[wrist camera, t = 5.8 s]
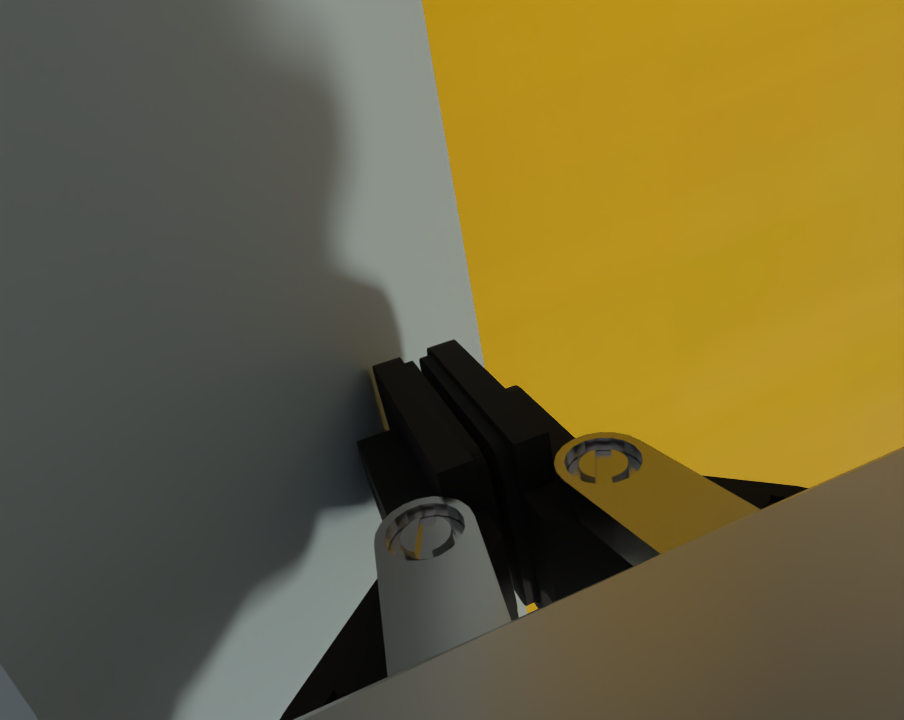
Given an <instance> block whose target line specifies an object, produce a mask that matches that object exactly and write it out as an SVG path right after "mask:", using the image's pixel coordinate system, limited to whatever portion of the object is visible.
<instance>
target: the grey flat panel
mask: <svg viewBox="0 0 904 720" xmlns="http://www.w3.org/2000/svg"><path fill="white" fill-rule="evenodd" d="M453 339H454V340H456V341H457V342H458V343H459V344H460V345H461V346H462V347H463V348H464V349H465V350H466V351H467V352H468V353H469V354H470V355H471V356H472V357H473V358H474V359H475V360H476V361H477V362H478V363H479V364H481V365H482V366H483V367H484V368H485V366H484V361H483V355H482V349H481V343H480V337H479V332H478V326H477V320H476V314H475V308H474V302H473V297H472V291H471V285H470V279H469V273H468V268H467V262H466V256H465V250H464V244H463V238H462V233H461V227H460V221H459V215H458V209H457V204H456V198H455V192H454V186H453V180H452V175H451V169H450V163H449V157H448V151H447V145H446V140H445V134H444V128H443V122H442V116H441V111H440V105H439V99H438V93H437V87H436V82H435V76H434V70H433V64H432V58H431V52H430V47H429V41H428V35H427V29H426V23H425V18H424V12H423V6H422V0H0V720H280V718H281V716H282V715H283V713H284V712H285V710H286V709H287V707H288V706H289V704H290V703H291V701H292V700H293V699H294V697H295V696H296V694H297V693H298V691H299V690H300V689H301V687H302V686H303V684H304V683H305V681H306V680H307V678H308V677H309V676H310V674H311V673H312V671H313V670H314V668H315V667H316V666H317V664H318V663H319V661H320V660H321V658H322V657H323V655H324V654H325V653H326V651H327V650H328V648H329V647H330V645H331V644H332V642H333V641H334V640H335V638H336V637H337V635H338V634H339V632H340V631H341V630H342V628H343V627H344V625H345V624H346V622H347V621H348V619H349V618H350V617H351V615H352V614H353V612H354V611H355V609H356V608H357V607H358V605H359V604H360V602H361V601H362V599H363V598H364V596H365V595H366V594H367V592H368V591H369V589H370V588H371V586H372V585H373V584H374V582H375V581H376V579H377V570H376V560H375V551H374V539H375V533H376V531H377V529H378V527H379V526H380V524H381V522H382V519H381V516H380V514H379V511H378V508H377V505H376V502H375V499H374V497H373V494H372V491H371V488H370V485H369V481H368V478H367V475H366V472H365V469H364V466H363V462H362V459H361V456H360V453H359V450H358V446H357V442H356V441H359V440H362V439H365V438H368V437H370V436H373V435H376V434H379V433H382V432H385V431H387V430H389V426H388V423H387V419H386V416H385V412H384V409H383V405H382V402H381V398H380V395H379V391H378V388H377V384H376V381H375V377H374V373H373V368H372V366H374V365H377V364H380V363H383V362H386V361H389V360H392V359H395V358H398V357H400V358H401V359H402V360H403V362H404V363H407V362H410V361H413V362H414V363H415V364H416V365H417V367H418V368H419V369H420V371H421V368H420V363H419V358H422V357H425V356H427V348H429V347H432V346H435V345H438V344H441V343H444V342H447V341H450V340H453ZM514 592H515V590H514ZM515 596H516V601H517V607H518V609H517V611H518V615H519V617H522V616H524V615H526V614H527V611H526V606H525V605H524V604H523V603H522V602H521V600H520V598H519V597H518V595H517V593H516V592H515Z"/></svg>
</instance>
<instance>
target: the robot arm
mask: <svg viewBox="0 0 904 720" xmlns="http://www.w3.org/2000/svg"><path fill="white" fill-rule="evenodd" d="M419 363H420V368H421V371H420V369H419V368H418V367H417V365H416V364H415V363H414V362H413V361H410V362H407V363H404V362H403V360H402V359H401V358H400V357H398V358H395V359H392V360H389V361H386V362H383V363H380V364H377V365H374V366H372V368H373V373H374V377H375V381H376V384H377V388H378V391H379V395H380V398H381V402H382V405H383V409H384V412H385V416H386V419H387V423H388V426H389V430H387V431H385V432H382V433H379V434H376V435H373V436H370V437H368V438H365V439H362V440H359V441H356V442H357V446H358V450H359V453H360V456H361V459H362V462H363V466H364V469H365V472H366V475H367V478H368V481H369V485H370V488H371V491H372V494H373V497H374V499H375V502H376V505H377V508H378V511H379V514H380V516H381V519H382V522H381V524H380V526H379V527H378V529H377V531H376V533H375V539H374V551H375V560H376V570H377V579H376V581H375V582H374V584H373V585H372V586H371V588H370V589H369V591H368V592H367V594H366V595H365V596H364V598H363V599H362V601H361V602H360V604H359V605H358V607H357V608H356V609H355V611H354V612H353V614H352V615H351V617H350V618H349V619H348V621H347V622H346V624H345V625H344V627H343V628H342V630H341V631H340V632H339V634H338V635H337V637H336V638H335V640H334V641H333V642H332V644H331V645H330V647H329V648H328V650H327V651H326V653H325V654H324V655H323V657H322V658H321V660H320V661H319V663H318V664H317V666H316V667H315V668H314V670H313V671H312V673H311V674H310V676H309V677H308V678H307V680H306V681H305V683H304V684H303V686H302V687H301V689H300V690H299V691H298V693H297V694H296V696H295V697H294V699H293V700H292V701H291V703H290V704H289V706H288V707H287V709H286V710H285V712H284V713H283V715H282V716H281V718H280V720H904V447H902V448H900V449H897V450H895V451H893V452H890V453H888V454H886V455H884V456H881V457H879V458H877V459H875V460H872V461H870V462H868V463H865V464H863V465H861V466H859V467H856V468H854V469H852V470H850V471H847V472H845V473H843V474H840V475H838V476H836V477H834V478H831V479H829V480H827V481H824V482H822V483H820V484H818V485H815V486H813V487H811V488H804V487H799V486H791V485H782V484H773V483H764V482H755V481H746V480H737V479H728V478H719V477H710V476H702V475H700V474H698V473H696V472H695V471H693V470H691V469H689V468H688V467H686V466H684V465H682V464H681V463H679V462H677V461H676V460H674V459H672V458H670V457H669V456H667V455H665V454H663V453H662V452H660V451H658V450H656V449H655V448H653V447H651V446H649V445H648V444H646V443H644V442H642V441H641V440H639V439H636V438H634V437H632V436H629V435H625V434H620V433H615V432H598V433H592V434H587V435H583V436H581V437H578V438H574V437H573V436H572V435H571V434H570V433H569V432H568V431H567V430H566V429H565V428H563V427H562V426H561V425H560V424H559V423H558V422H557V421H556V420H555V419H554V418H553V417H552V416H550V415H549V414H548V413H547V412H546V411H545V410H544V409H543V408H542V407H541V406H540V405H539V404H538V403H536V402H535V401H534V400H533V399H532V398H531V397H530V396H529V395H528V394H527V393H526V392H525V391H523V390H522V389H521V388H520V387H518V386H517V385H516V386H512V387H509V388H506V389H505V388H504V387H503V386H502V385H501V384H500V383H499V382H498V381H497V380H496V379H495V378H494V377H493V376H492V375H491V374H490V373H489V372H488V371H487V370H486V369H485V368H484V367H483V366H482V365H481V364H479V363H478V362H477V361H476V360H475V359H474V358H473V357H472V356H471V355H470V354H469V353H468V352H467V351H466V350H465V349H464V348H463V347H462V346H461V345H460V344H459V343H458V342H457V341H456V340H454V339H453V340H450V341H447V342H444V343H441V344H438V345H435V346H432V347H429V348H427V356H425V357H422V358H419ZM514 590H515V592H516V593H517V595H518V597H519V598H520V600H521V602H522V603H523V604H524V605H525V606H527V605H529V604H531V603H535V604H536V606H537V607H538V609H537V610H535V611H533V612H531V613H528V614H526V615H524V616H522V617H519V615H518V611H517V609H518V607H517V601H516V596H515V592H514Z"/></svg>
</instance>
